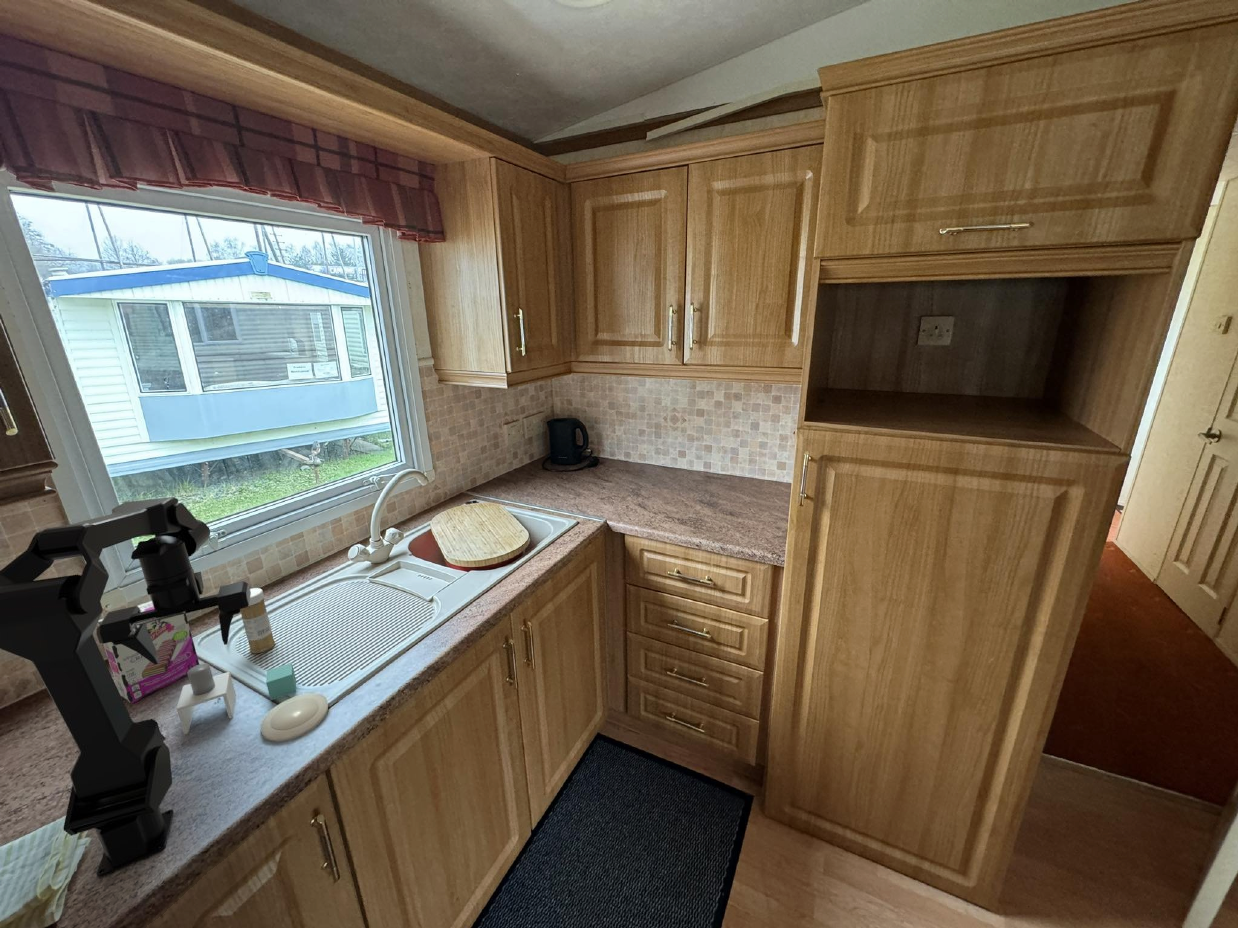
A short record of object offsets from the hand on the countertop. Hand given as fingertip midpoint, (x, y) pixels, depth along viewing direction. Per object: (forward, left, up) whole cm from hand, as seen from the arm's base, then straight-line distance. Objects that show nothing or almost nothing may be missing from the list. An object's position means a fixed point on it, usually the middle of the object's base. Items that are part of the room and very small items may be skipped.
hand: (192, 652), depth 84 cm
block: (0, -11, -13) cm, 17 cm away
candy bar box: (+16, +9, -13) cm, 22 cm away
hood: (0, 0, -13) cm, 13 cm away
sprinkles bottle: (+18, -7, -13) cm, 23 cm away
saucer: (-10, -13, -13) cm, 21 cm away
